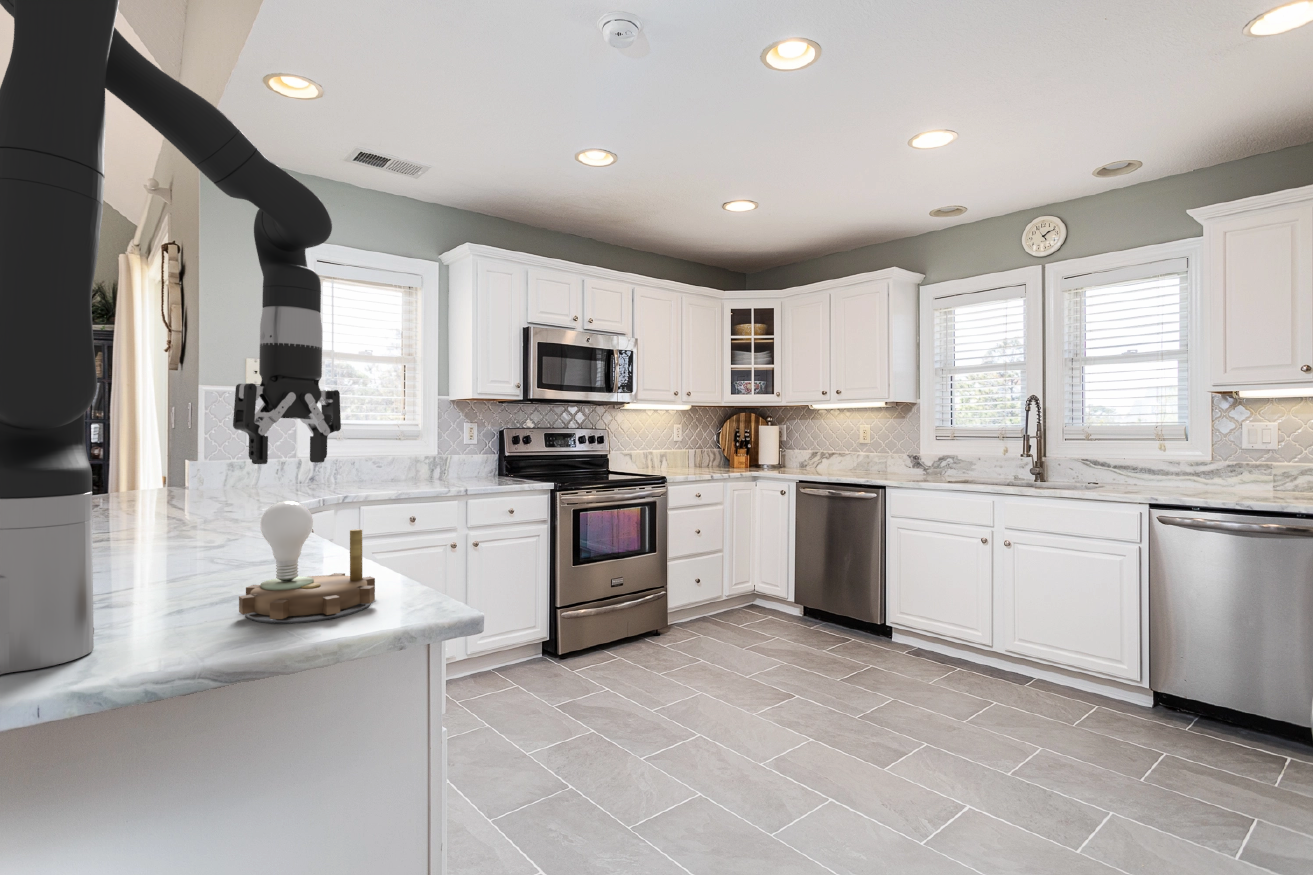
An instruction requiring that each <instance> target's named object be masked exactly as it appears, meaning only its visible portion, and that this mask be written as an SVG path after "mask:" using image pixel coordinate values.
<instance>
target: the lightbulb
mask: <svg viewBox="0 0 1313 875" xmlns="http://www.w3.org/2000/svg"><path fill="white" fill-rule="evenodd" d="M313 528H314V518H313V514H312V513H311V511H310V510H309V509H308V507H307V506H305V505H304V504H303V503H301V502H299V501H298V502H297V501H294V500H282V501H279V502H276V503H273V504H272V505H270V506H269V507H268V508H266V510H265V511H264V513H263V514H262V517H261V518H260V532H261V534H262V537H263V538H264V540H265V541H266V542H267V544H268V546H269V547H270V548H271V550H272V555H273V558H274V559H275V566H276V568H275V570H276V571H275V573H276V574H275V575H276V577H275V579H279V580H281V581H283V582H289V581H292V580H293V579H295V578H296V577H299V567H298V566H299V559H300V557H301V554H302V549H303V546H304V544H305V543H306V541H307V539H308V538H309V536H310V535H311V534H312V531H313Z"/></svg>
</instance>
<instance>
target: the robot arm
mask: <svg viewBox="0 0 1313 875" xmlns="http://www.w3.org/2000/svg"><path fill="white" fill-rule="evenodd" d="M119 5H120V0H0V6H1V7H3V9H4V10H5V12H7V13H8V14H9V15H10V16H11V17H12V18H13V21H14V22H13V24H14V25H13V42H12V48H11V54H10V57H9V60H8V61H9V62H8V64H7V67H6V71H5V73H4V76H3V79H2V82H1V84H0V675H4V674H8V673H13V672H23V671H30V670H36V669H42V668H48V667H52V666H56V665H59V664H60V665H61V664H64V663H67V662H71V661H74V660H76V659H80V658H81V657H84V656H86V655H88V654H90V653H91V652H92V651H94V648H95V646H94V645H95V644H94V643H95V642H94V640H95V638H94V637H95V636H94V635H95V627H94V626H95V625H94V565H93V564H94V562H93V561H94V560H93V559H94V558H93V557H94V556H93V553H94V551H93V542H94V541H93V471H92V470H93V469H92V466H91V464H90V461H89V457H88V453H87V448H86V446H87V445H86V423H85V422H86V421H85V420H86V419H85V418H86V417H85V415H86V414H85V413H86V412H87V411H88V410H89V408H90V407H91V406H92V404H93V402H94V400H95V398H96V395H97V390H98V373H97V364H96V355H95V344H94V330H93V329H94V328H93V327H94V326H93V313H92V312H93V310H92V308H93V307H92V304H93V303H92V301H93V298H92V297H93V287H94V280H95V276H96V275H95V274H96V269H97V261H98V257H99V250H100V249H99V248H100V240H101V231H102V222H103V212H104V197H105V172H106V171H105V151H106V150H105V149H106V123H107V122H106V90H107V91H108V92H110V94H112V95H113V96H115V97H116V98H117V99H118V100H120V101H121V102H122V103H123V104H124V105H126V106H127V107H128V108H129V109H130V110H132V111H134V113H136V114H137V115H138V116H140V117H141V118H142V119H143V120H144V121H146V122H147V123H148V124H149V125H150V126H151V127H153V128H154V129H155V131H157V132H158V133H159V134H161V136H162V137H164V138H165V139H166V140H167V141H168V142H169V143H171V145H173V147H175V148H176V149H177V150H178V151H179V152H180V153H181V154H182V155H183V156H184V157H185V158H186V159H188V161H189V162H191V164H193V165H194V166H195V167H196V169H198V170H199V171H200V172H201V173H202V174H203V175H204V176H205V177H206V178H207V179H208V180H209V181H210V182H212V183H213V184H214V185H215V186H216V187H217V188H218V189H219V190H220V191H222V193H224V194H225V195H226V196H229V197H230V198H233V199H237V200H238V199H239V200H245V201H248V202H250V204H252V205H254V206H255V207H256V208H258V209H257V212H256V214H255V217H254V223H253V237H254V243H255V249H256V253H257V257H258V263H259V266H260V270H261V272H262V276H263V280H262V305H261V306H262V309H261V317H260V323H259V357H258V358H259V368H258V369H259V370H258V372H259V376H260V378H261V380H260V381H261V382H260V384H259V385H256V384H255V383H251V382H249V383H247V382H245V383H244V382H243V383H238V384H236V386H235V394H234V406H233V419H232V427H233V429H234V430H237V431H238V430H239V431H242V432H244V433H246V434H247V435H248V458H249V460H250V461H251V462H252V464H253V465H267V464H268V461H269V458H268V457H269V454H268V452H269V435H266V434H267V433H268V432H269V431H270V429H271V428H272V427H273V425H274V424H275V423H277V422H278V421H279V420H280V419H296V420H300V421H301V422H302V423H303V424H305V426H306V427H307V428H308V430H309V432H310V433H311V434H312V435H311V436H309V461H310V462H311V463H315V464H316V463H317V464H318V463H319V464H320V463H324V462H325V460H326V459H327V456H328V437H329V435H330V434H332V433H334V432H340V430H341V428H342V423H341V422H342V420H341V399H340V397H341V396H340V391H339V390H337V389H323V390H321V388H320V384H319V383H320V380H321V379H322V377H323V376H322V375H323V373H322V372H323V324H322V315H321V313H322V312H321V311H322V310H321V309H322V308H321V307H322V305H321V304H322V301H321V300H322V283H321V279H320V276H319V273H317V272H316V271H315V270H313V269H312V268H309V267H308V262H307V255H306V249H310V248H315V247H318V246H320V245H323V244H324V243H325V242H326V241H327V240H328V239H329V238H330V236H331V233H332V230H333V223H332V222H333V221H332V217H331V215H330V213H329V211H328V209H327V207H326V204H324V203H323V201H322V200H321V198H320V197H319V196H317V195H316V194H315V193H314V192H313V191H312V190H311V189H310V188H309V187H308V186H306V185H305V184H303V183H302V182H301V181H299V179H297V178H295V177H294V176H293V175H291V174H290V173H289V172H287V171H286V170H285V169H283V168H281V166H279V165H277V164H276V163H274V162H272V161H271V160H270V159H269V158H267V157H266V156H265V155H264V154H263V153H262V152H261V151H260V149H258V147H257V146H256V145H255V144H254V143H253V142H252V141H251V140H250V139H249V138H248V137H247V136H246V135H245V134H244V133H243V132H242V130H240V128H238V126H237V125H235V123H233V121H231V119H230V118H228V117H227V115H225V114H224V113H223V112H222V111H221V110H219V109H218V108H217V106H214V105H213V103H211V102H209V101H208V100H207V99H205V98H203V96H201V95H200V94H198V93H196V91H193V90H191V89H190V88H189V87H187V86H185V85H184V84H182V83H181V82H180V81H178V80H176V79H174V78H173V77H172V76H170V74H169V75H168V74H167V73H166V72H164V71H163V70H162V69H160V68H159V67H157V65H155V64H153V62H151V61H150V60H148V59H147V58H146V57H145V56H143V54H142V53H141V52H139V51H138V49H136V48H135V47H134V46H133V45H132V44H131V43H130V42H129V41H127V39H126V38H125V37H124V36H123V35H122V33H120V32H119V30H118V29H117V27H115V24H116V20H117V15H118V12H119V11H118V10H119ZM259 399H261V401H262V402H263V403H262V405H261V406H260V407H259V408H258V410H257V411H256V406H257V405H256V404H257V401H258V400H259ZM318 403H319V404H321V406H320V407H321V410H320V408H319V406H318Z"/></svg>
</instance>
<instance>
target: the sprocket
mask: <svg viewBox="0 0 1313 875" xmlns="http://www.w3.org/2000/svg"><path fill="white" fill-rule="evenodd" d="M375 595H376V578H375V577H373V576H363V529H358V528H357V529H350V530H349V575H346V573H344V572H343V573H340V572H338V573H337V572H335V573H332V574H329V575H327V574H326V575H310V576H309V575H308V576H298V577H296V578H295V579H293V580H292V581H289V582H283V581H281V580H279V579H277V578H273V579H269V580H266V581H265V580H264V581H262V582H261V583H260V584H251V585H248V586H246V587H245V594H244V595H239V596H238V612H239V613H240V614H241V615H246V614H248V613H254V612H255V613H258V614H262V615H270V619H284V618H286V617H288V616H299V615H311V614H319V613H324V614H326V615H330V614H336V613H340V610H341V609H345V608H349V607H352V606H355V605H357V604H360V603H362V604H370V603H371V604H372V603H373V602H375V601H376V600H375V598H376V596H375ZM371 604H370V605H371Z"/></svg>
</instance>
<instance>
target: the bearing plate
mask: <svg viewBox="0 0 1313 875" xmlns="http://www.w3.org/2000/svg"><path fill="white" fill-rule="evenodd" d="M371 604H372V602H371V603H370V604H362V603H360V604H357V605H355V606H352V607H349V608H345V609H341V610H340V613H336V614H330V615H326V614H324V613H319V614H311V615H299V616H288V617H286V618H284V619H270V615H262V614H258V613H255V612H254V613H248V614H245V616H246V618H247V619H249V620H250V621H253V622H257V623H265V624H277V625H278V624H284V625H285V624H286V625H287V624H301V623H302V624H304V623H312V622H313V623H315V622H320V621H327V620H332V619H338V618H342V617H347V616H349V615H352V614H356V613H358V612H361V611H364V610H365V609H367V608H369V606H371Z"/></svg>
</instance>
